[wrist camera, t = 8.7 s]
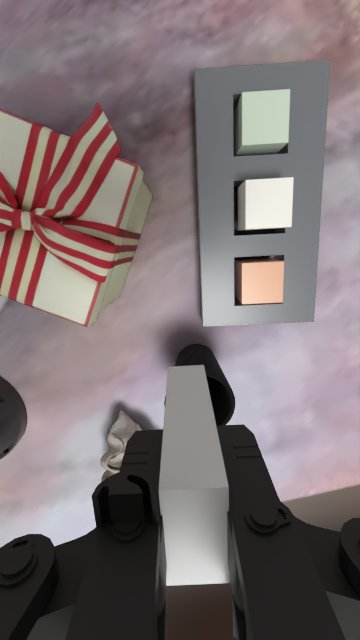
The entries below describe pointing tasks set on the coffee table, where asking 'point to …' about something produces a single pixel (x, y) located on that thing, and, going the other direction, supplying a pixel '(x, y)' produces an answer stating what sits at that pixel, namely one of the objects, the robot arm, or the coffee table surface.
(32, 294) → the gift box
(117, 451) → the seashell
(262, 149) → the sage key
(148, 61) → the coffee table surface
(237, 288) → the peach cube
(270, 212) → the ivory key
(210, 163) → the key panel
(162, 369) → the coffee table surface
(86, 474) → the coffee table surface
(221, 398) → the cup
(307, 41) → the coffee table surface
